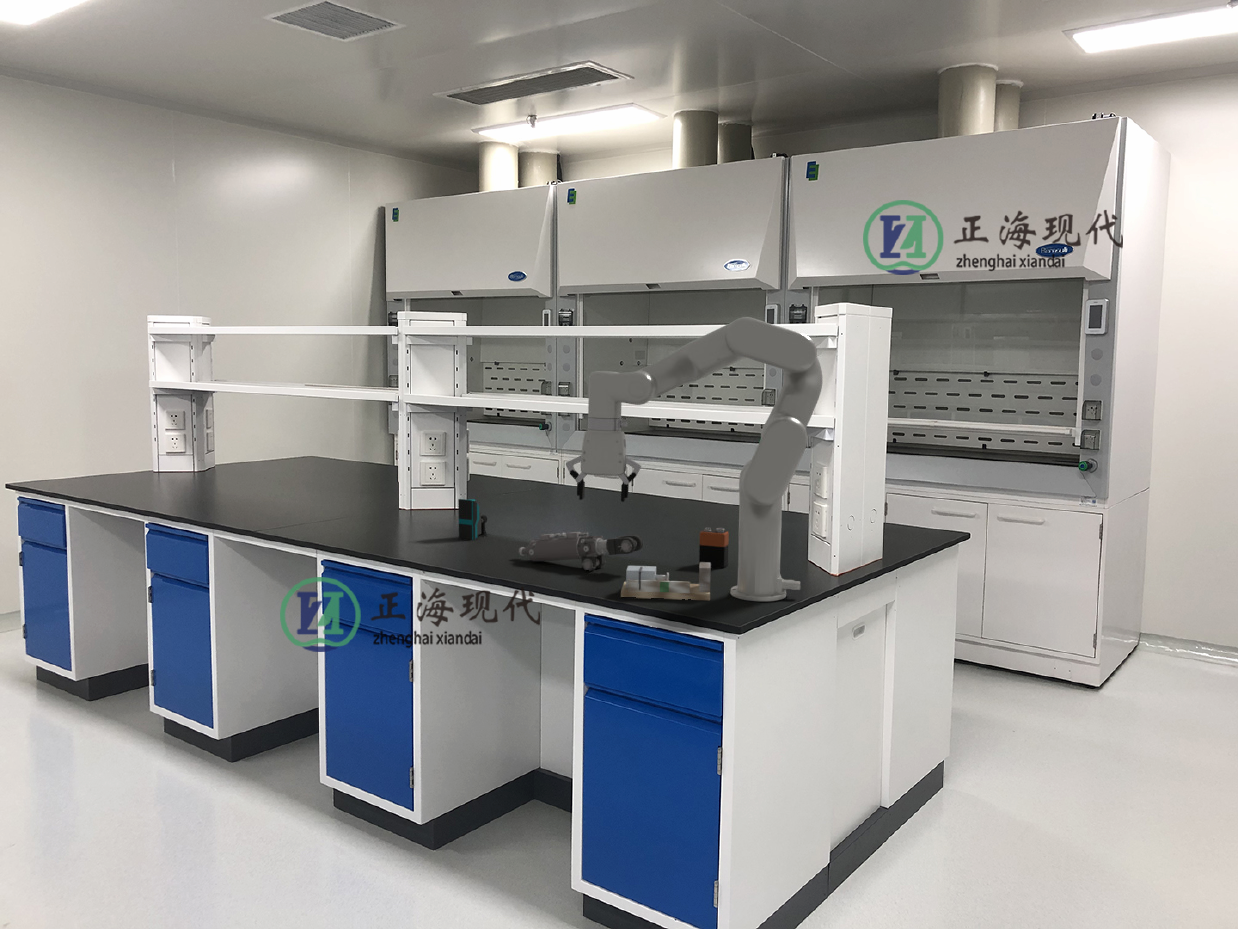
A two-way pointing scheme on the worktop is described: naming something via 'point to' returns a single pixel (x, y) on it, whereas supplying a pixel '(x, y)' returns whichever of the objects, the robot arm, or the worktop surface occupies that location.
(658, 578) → the force gauge
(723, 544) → the battery
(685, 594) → the gauge stand
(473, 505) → the black teal case
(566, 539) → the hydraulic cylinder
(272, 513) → the worktop surface
